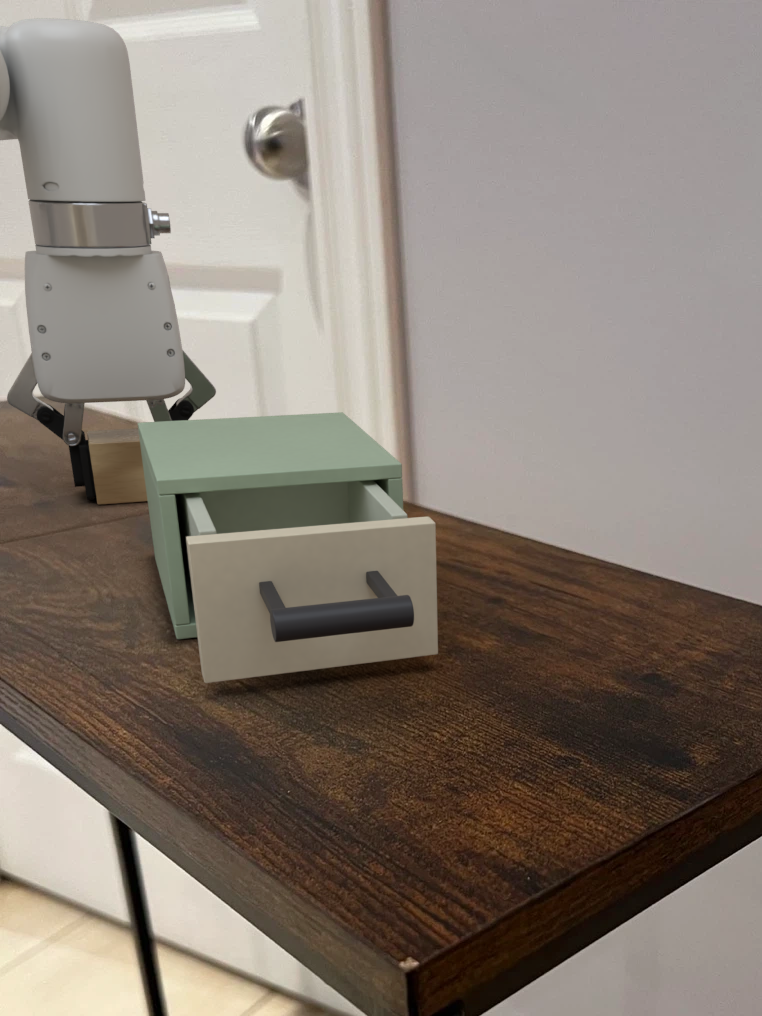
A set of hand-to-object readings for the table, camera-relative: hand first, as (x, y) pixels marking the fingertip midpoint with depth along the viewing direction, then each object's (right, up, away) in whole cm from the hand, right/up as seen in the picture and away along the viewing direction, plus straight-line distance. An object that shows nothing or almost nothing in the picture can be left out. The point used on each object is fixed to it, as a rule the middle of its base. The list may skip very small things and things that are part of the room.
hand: (127, 490), depth 86 cm
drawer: (+19, -13, -28) cm, 36 cm away
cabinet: (+15, -9, -17) cm, 25 cm away
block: (0, 0, 0) cm, 0 cm away
